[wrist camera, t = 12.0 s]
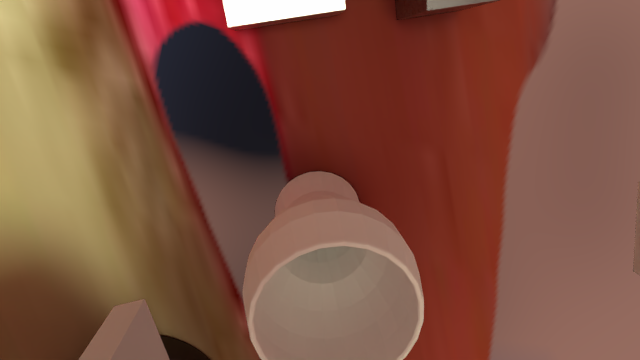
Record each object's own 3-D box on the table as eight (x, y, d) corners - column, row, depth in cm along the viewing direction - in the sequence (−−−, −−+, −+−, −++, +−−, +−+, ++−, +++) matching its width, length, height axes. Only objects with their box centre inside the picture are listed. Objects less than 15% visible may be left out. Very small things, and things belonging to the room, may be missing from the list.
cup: (244, 247, 35) (214, 379, 21) (277, 139, 32) (268, 206, 18) (352, 274, 37) (392, 413, 23) (392, 174, 34) (467, 260, 20)
